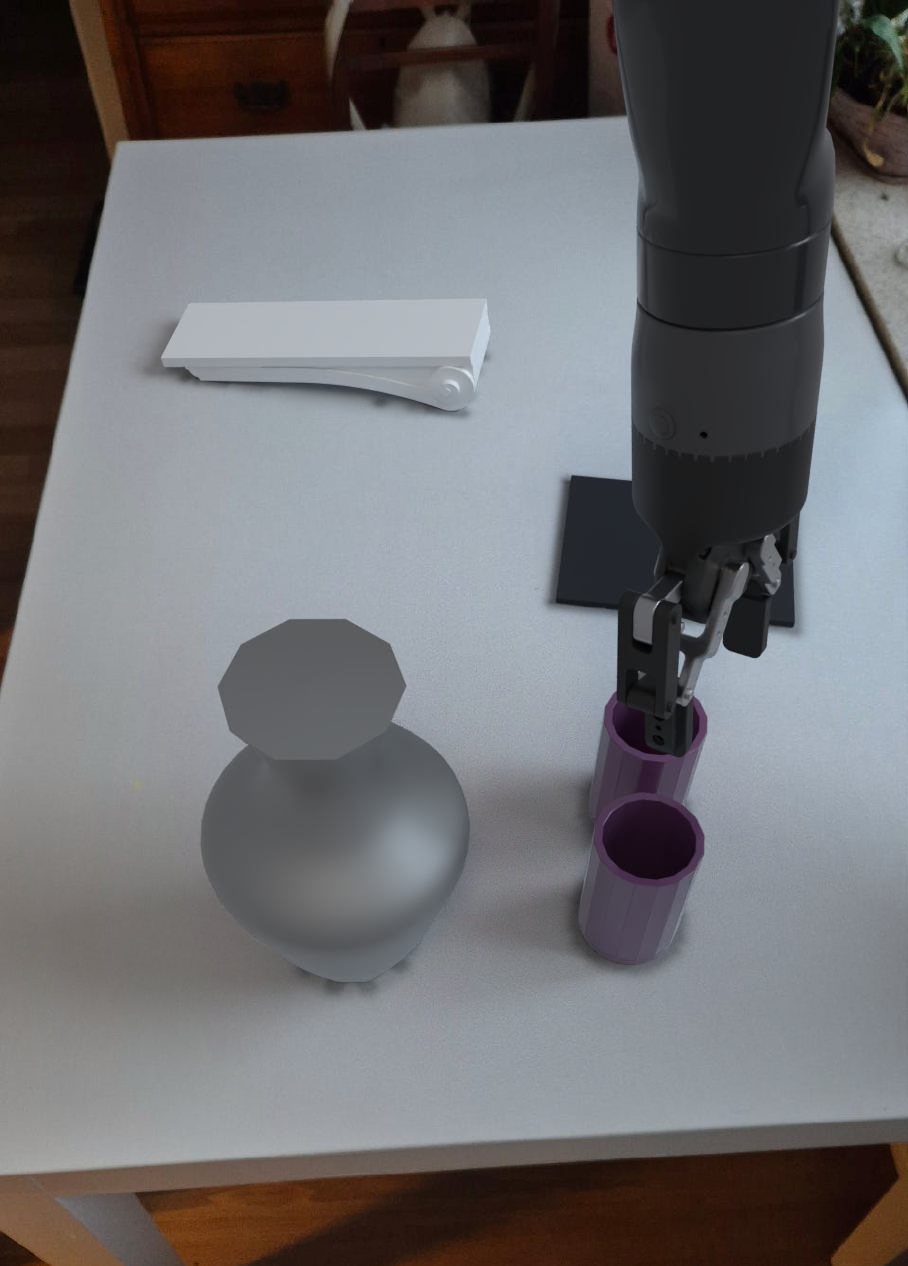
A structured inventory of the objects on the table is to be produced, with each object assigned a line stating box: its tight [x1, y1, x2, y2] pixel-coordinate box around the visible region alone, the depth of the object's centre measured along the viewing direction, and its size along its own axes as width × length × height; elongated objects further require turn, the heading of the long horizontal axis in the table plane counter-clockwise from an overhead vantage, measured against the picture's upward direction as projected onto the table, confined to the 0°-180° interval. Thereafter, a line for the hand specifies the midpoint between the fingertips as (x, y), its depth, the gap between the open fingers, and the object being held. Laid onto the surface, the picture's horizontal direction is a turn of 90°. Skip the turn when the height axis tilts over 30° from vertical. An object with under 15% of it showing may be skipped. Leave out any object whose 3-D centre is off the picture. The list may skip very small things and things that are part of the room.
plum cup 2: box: [577, 792, 706, 965], centre depth 68 cm, size 6×6×10 cm
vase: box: [199, 618, 471, 983], centre depth 61 cm, size 14×14×25 cm
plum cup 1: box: [588, 690, 709, 827], centre depth 73 cm, size 6×6×10 cm
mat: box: [555, 474, 796, 628], centre depth 90 cm, size 18×14×1 cm
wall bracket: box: [160, 297, 491, 412], centre depth 102 cm, size 10×7×28 cm
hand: (707, 697), depth 59 cm, fingers open, 8 cm apart
